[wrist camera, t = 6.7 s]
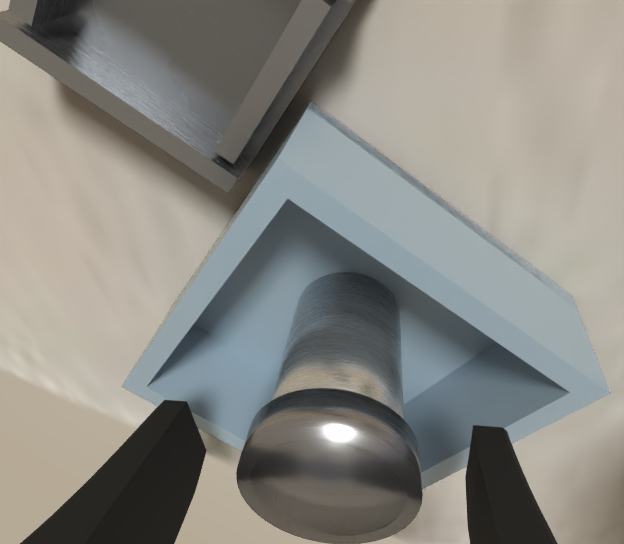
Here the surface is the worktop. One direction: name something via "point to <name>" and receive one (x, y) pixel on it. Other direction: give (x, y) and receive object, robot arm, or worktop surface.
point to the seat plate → (181, 66)
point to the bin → (392, 274)
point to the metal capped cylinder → (336, 421)
